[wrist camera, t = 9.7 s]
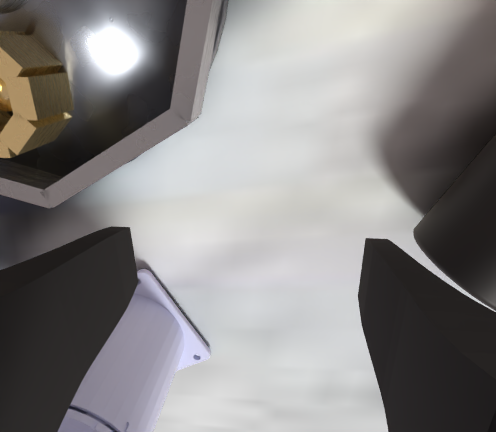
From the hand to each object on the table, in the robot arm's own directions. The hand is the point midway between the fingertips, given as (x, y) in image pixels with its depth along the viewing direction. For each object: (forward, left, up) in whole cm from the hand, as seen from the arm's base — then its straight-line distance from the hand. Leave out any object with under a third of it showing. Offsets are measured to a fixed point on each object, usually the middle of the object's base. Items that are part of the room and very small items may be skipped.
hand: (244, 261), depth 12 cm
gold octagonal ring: (-9, +10, -9) cm, 16 cm away
